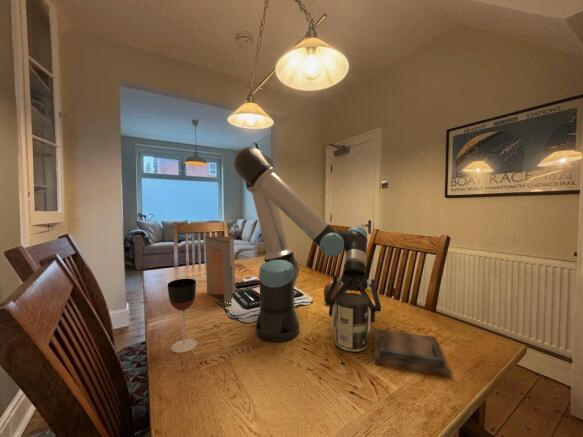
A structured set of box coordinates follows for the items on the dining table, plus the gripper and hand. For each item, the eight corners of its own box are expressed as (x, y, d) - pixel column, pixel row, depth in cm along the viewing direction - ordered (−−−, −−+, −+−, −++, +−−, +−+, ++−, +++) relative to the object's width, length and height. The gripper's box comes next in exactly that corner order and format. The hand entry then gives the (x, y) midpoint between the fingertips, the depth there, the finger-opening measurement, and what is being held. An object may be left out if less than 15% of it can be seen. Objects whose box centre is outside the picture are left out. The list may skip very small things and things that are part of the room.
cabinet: (207, 293, 124) (205, 236, 122) (225, 289, 131) (223, 234, 129) (228, 306, 109) (226, 241, 107) (247, 300, 115) (246, 239, 113)
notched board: (374, 363, 70) (374, 349, 70) (374, 334, 85) (374, 322, 85) (449, 377, 65) (450, 361, 64) (435, 343, 80) (435, 330, 80)
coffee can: (366, 335, 84) (367, 293, 83) (369, 353, 74) (370, 306, 73) (334, 332, 86) (335, 291, 85) (333, 349, 76) (333, 303, 75)
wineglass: (171, 356, 74) (168, 289, 73) (169, 342, 82) (167, 280, 81) (199, 349, 78) (197, 284, 77) (196, 335, 86) (193, 277, 84)
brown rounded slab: (329, 306, 108) (329, 287, 108) (322, 305, 110) (322, 285, 109) (342, 295, 121) (342, 277, 121) (335, 293, 123) (335, 276, 122)
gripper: (388, 273, 90) (389, 340, 76) (324, 268, 97) (315, 328, 83) (389, 262, 84) (391, 331, 70) (322, 257, 91) (311, 319, 77)
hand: (350, 329), depth 77 cm, fingers closed on coffee can, 10 cm apart
